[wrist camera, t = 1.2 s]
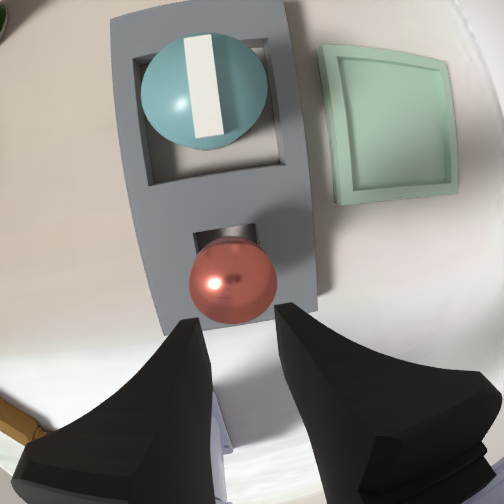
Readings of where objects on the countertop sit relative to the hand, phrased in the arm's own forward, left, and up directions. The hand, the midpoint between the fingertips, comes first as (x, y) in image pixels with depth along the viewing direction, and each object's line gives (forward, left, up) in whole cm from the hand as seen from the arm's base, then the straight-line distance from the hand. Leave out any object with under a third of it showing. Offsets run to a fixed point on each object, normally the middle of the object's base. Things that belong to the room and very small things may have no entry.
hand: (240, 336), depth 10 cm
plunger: (0, 0, -7) cm, 7 cm away
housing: (+6, 0, -9) cm, 11 cm away
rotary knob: (+9, 0, -9) cm, 13 cm away
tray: (+7, -12, -9) cm, 17 cm away
